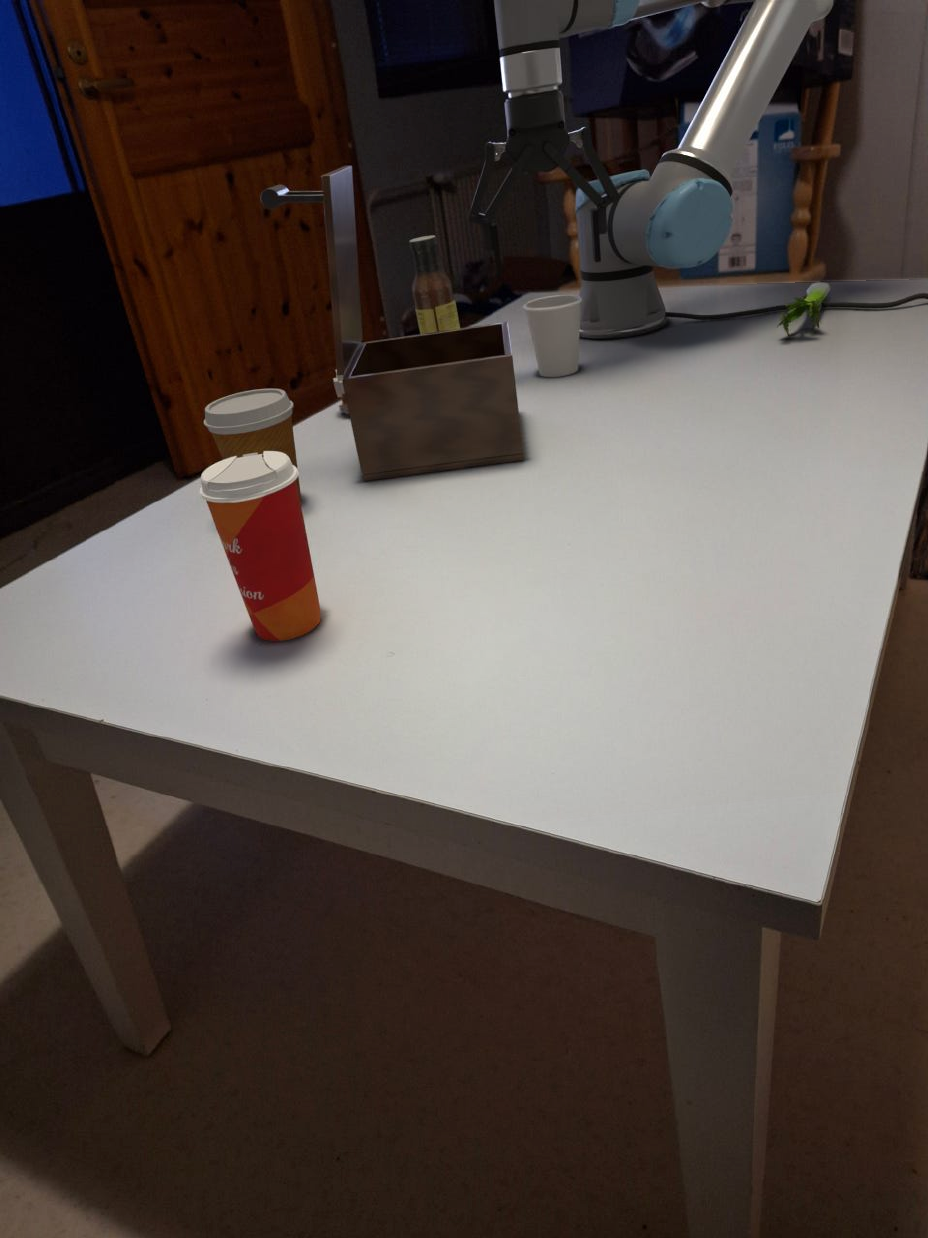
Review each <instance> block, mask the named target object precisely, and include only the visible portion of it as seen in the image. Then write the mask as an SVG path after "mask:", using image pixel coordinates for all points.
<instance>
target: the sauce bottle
mask: <svg viewBox="0 0 928 1238" xmlns="http://www.w3.org/2000/svg"><path fill="white" fill-rule="evenodd" d="M408 243H409V249H410V251H411V253H412V257H413V263H414V270H415V275H414V279H413V282H412V285H411V292H412V297H413V302H414V309H415V310H414V311H415V315H416V319H417V324H418V330H419V334H425V333H432V332H439V331H446V330H453V329H460V328H461V325H460V319H459V314H458V313H459V312H458V309H457V303H456V298H455V295H454V293H453V285H452V281H451V280H450V278H449V277H448V275H447V273H446V272H445V271H444V270H443V268H442V266H441V262H440V257H439V253H438V252H439V251H438V244H439V243H438V240H437V236H436V235H434V234H433V235H425V236H420V237H416V238H412V239H410V240H409V242H408Z"/></svg>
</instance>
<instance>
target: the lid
mask: <svg viewBox="0 0 928 1238" xmlns="http://www.w3.org/2000/svg"><path fill="white" fill-rule="evenodd" d="M353 179H354V178H353V166H352V165H344V166H341V167H339V168H337V169H335V170H332V171H329V172H327V173H325V174H322V175H321V182H322V183H321V185H322V190H289V188H287V186H286V185H284V184H276V185H273V186H271V187H268V188H265V189H264V190H263V191H262V192H261V194H260V202H261V205H262V206H263V207H264V208H265V209H267V210H275V209H277V208H279V207H282V206H284V205H285V204H288V203H289V204H290V203H292V204H293V203H294V204H295V203H323V211H324V212H323V213H324V224H325V237H326V239H325V240H326V249H327V263H328V275H329V288H330V289H329V290H330V300H331V301H330V302H331V316H332V327H333V341H334V351H335V366H336V370H337V375H345V373H346V371H347V369H348V367H349V365H350V363H351V361H352V359H353V357H354V355H355V353H356V351H357V349H358V347H359V345H360V343H362V341H363V322H362V307H361V292H360V291H361V290H360V289H361V288H360V275H359V274H360V273H359V259H358V242H357V226H356V211H355V196H354V195H355V194H354V182H353V181H354V180H353Z"/></svg>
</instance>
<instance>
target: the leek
mask: <svg viewBox="0 0 928 1238" xmlns="http://www.w3.org/2000/svg"><path fill="white" fill-rule="evenodd" d="M830 291H831V286H830V284H829V282H828V283H827V282H820V281H819V282H814V283H812V284H810V285H809V287H808V288H807V289H806V296H804V297H803V298H798V297H797V296H796V297H795V296H793V298H794V300H795V301H794V302H788V303H785V305H787V306H788V307H789V305H790V306H791V307H789V308H788V307H787V309H788V310H789V311H788V310H787V312H786V314H785V312H784V311H785V310H782V313H781V314H780V316H779V317H780V322H779V324H778V325H776V328H779V327H780V326H782V328H783V330H784V332H785V334H787V338H789V339H790V337H791V336H790V330H789V326H790V323H792V322H794V321H795V320H797V319H799V318H800V317H801V316H802V315H803V314H804V313H805V312H806V311H807V309H808V314H807V315H808V316H809V317H811V318H812V325H811V326H812V330H814V329H815V328H818V329H820V324H819V323H820V312H821V310H822V308H821V302H824V300H825V298H826V297H827V296H828V294H829V292H830ZM792 305H793V306H792ZM818 306H820V308H819V307H818ZM793 307H794V308H793ZM808 307H809V308H808ZM791 308H793V309H791Z"/></svg>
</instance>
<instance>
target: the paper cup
mask: <svg viewBox="0 0 928 1238" xmlns="http://www.w3.org/2000/svg"><path fill="white" fill-rule="evenodd" d="M262 455H263V456H264V457H262ZM297 468H298V467H297ZM297 468H296V467H295V466H294V465H292V463H291V460H290V458H289V457H288V456H287V455H286V454H284V453H282V452H277V451H264V452H263V454H258V453H251V454H245V455H243V457H240V458H237V456H234V457H230V458H227V459H225V460H223V459H222V460H220V461H217V462H215V463H214V464H211V465H209V466H208V467H206V468H205V469H204V470H203V472H202V473H201V476H200V484H201V487H200V488H199V491H198V494H199V497H200V498H201V499H202V500H203V501H205V502H206V504H207V507H208V510H209V512H210V515H211V517H212V520H213V523H214V526H215V529H216V531H217V534H218V536H219V539H220V542H221V545H222V547H223V550H224V553H225V556H226V558H227V561H228V563H229V566H230V569H231V572H232V575H233V577H234V579H235V582H236V585H237V588H238V590H239V593H240V596H241V598H242V601H243V604H244V606H245V609H246V611H247V614H248V616H249V619H250V622H251V625H252V627H253V629H254V632H255V633H256V635H257V637H259V638H260V639H262V640H264V641H270V642H282V641H288V640H292V639H293V640H294V639H297V638H299V637H302V636H304V635H306V634H308V633H310V632H311V631H313V630H314V629H315V628H317V626H318V625H319V624H320V622H321V619H322V613H321V605H320V600H319V599H320V598H319V595H318V589H317V582H316V578H315V572H314V567H313V561H312V556H311V550H310V545H309V540H308V535H307V530H306V524H305V519H304V514H303V509H302V504H301V503H302V502H301V503H300V497H299V492H298V487H297V481H296V478H297V477H298V476H299V475H300V472H299V469H297Z"/></svg>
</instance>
